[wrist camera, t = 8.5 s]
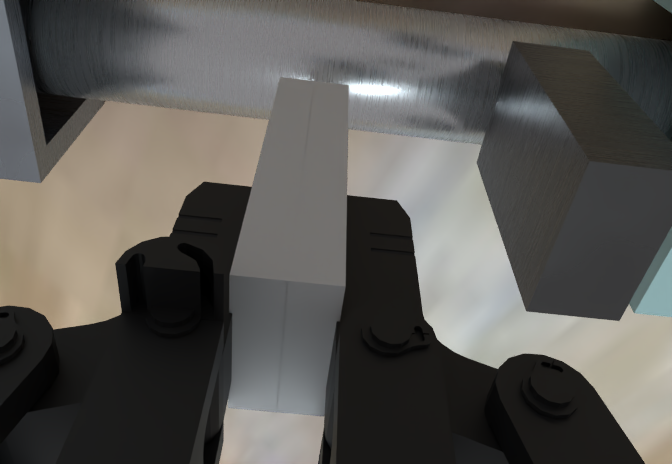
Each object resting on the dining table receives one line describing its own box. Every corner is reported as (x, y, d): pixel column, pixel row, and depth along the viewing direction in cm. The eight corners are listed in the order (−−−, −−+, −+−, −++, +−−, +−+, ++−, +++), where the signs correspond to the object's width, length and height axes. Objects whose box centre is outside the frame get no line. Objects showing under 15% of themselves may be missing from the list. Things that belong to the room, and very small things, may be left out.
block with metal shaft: (21, 59, 19) (-197, 236, 12) (-3, -61, 17) (-289, 58, 10) (674, 137, 21) (866, 346, 13) (726, 34, 18) (996, 208, 11)
